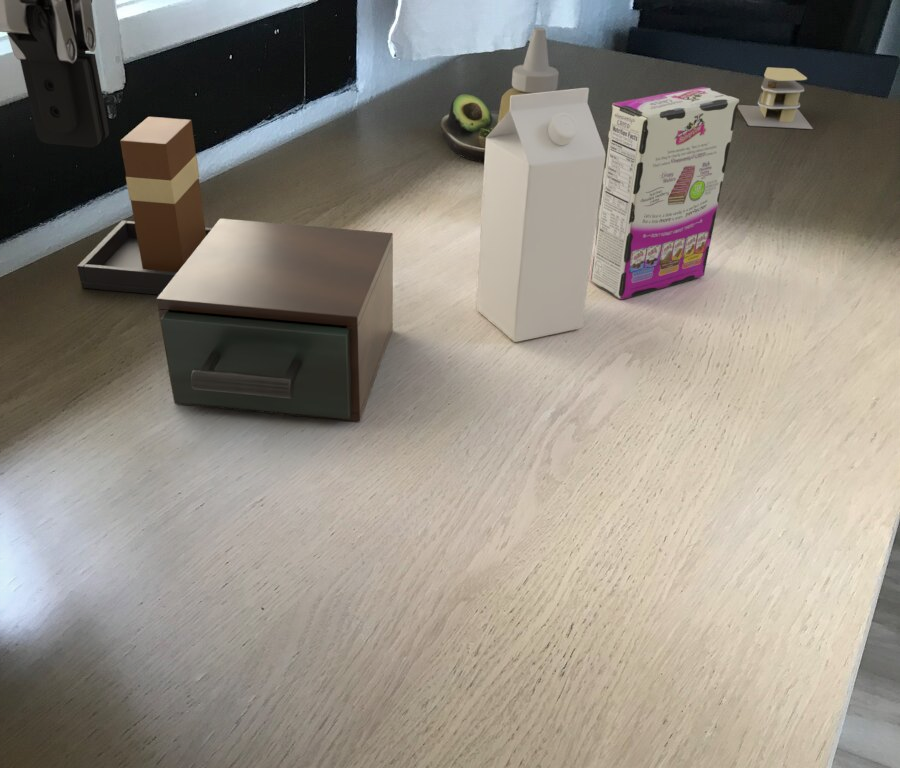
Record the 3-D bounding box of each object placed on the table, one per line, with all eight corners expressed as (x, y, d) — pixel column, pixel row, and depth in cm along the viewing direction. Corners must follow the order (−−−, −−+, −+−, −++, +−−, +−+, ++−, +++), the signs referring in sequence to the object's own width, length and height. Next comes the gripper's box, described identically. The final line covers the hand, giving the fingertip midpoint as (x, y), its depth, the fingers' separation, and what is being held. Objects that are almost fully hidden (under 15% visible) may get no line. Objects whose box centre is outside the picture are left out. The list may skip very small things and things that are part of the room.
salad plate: (566, 118, 135) (570, 81, 132) (611, 161, 122) (617, 122, 119) (429, 122, 131) (430, 85, 128) (461, 167, 119) (463, 127, 116)
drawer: (337, 450, 70) (333, 364, 66) (155, 432, 71) (139, 346, 67) (381, 331, 84) (381, 253, 80) (229, 317, 85) (219, 240, 81)
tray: (81, 288, 90) (76, 266, 89) (125, 241, 99) (122, 220, 97) (232, 301, 89) (230, 279, 88) (264, 253, 98) (262, 232, 96)
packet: (143, 277, 91) (119, 140, 83) (168, 247, 96) (147, 116, 88) (186, 280, 91) (166, 144, 83) (209, 250, 96) (192, 119, 88)
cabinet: (360, 422, 75) (357, 316, 69) (173, 404, 76) (156, 298, 70) (392, 329, 87) (392, 232, 81) (231, 314, 87) (219, 218, 82)
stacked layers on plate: (735, 105, 143) (744, 63, 140) (797, 108, 143) (807, 66, 140) (748, 125, 136) (758, 82, 132) (813, 129, 136) (824, 86, 132)
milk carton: (474, 310, 90) (488, 83, 77) (540, 297, 93) (564, 76, 80) (513, 344, 85) (534, 109, 73) (582, 329, 88) (614, 100, 75)
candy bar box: (670, 259, 100) (703, 84, 89) (704, 278, 97) (744, 98, 86) (585, 282, 96) (610, 99, 85) (619, 302, 92) (649, 115, 82)
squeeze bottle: (524, 195, 113) (540, 16, 101) (575, 216, 108) (597, 32, 96) (471, 209, 109) (481, 25, 97) (521, 233, 104) (538, 42, 92)
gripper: (-24, -354, 33) (88, 197, 45) (133, -333, 44) (190, 105, 57) (-234, -365, 34) (-67, 184, 46) (-26, -341, 45) (64, 95, 57)
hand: (74, 139), depth 51 cm, fingers closed
